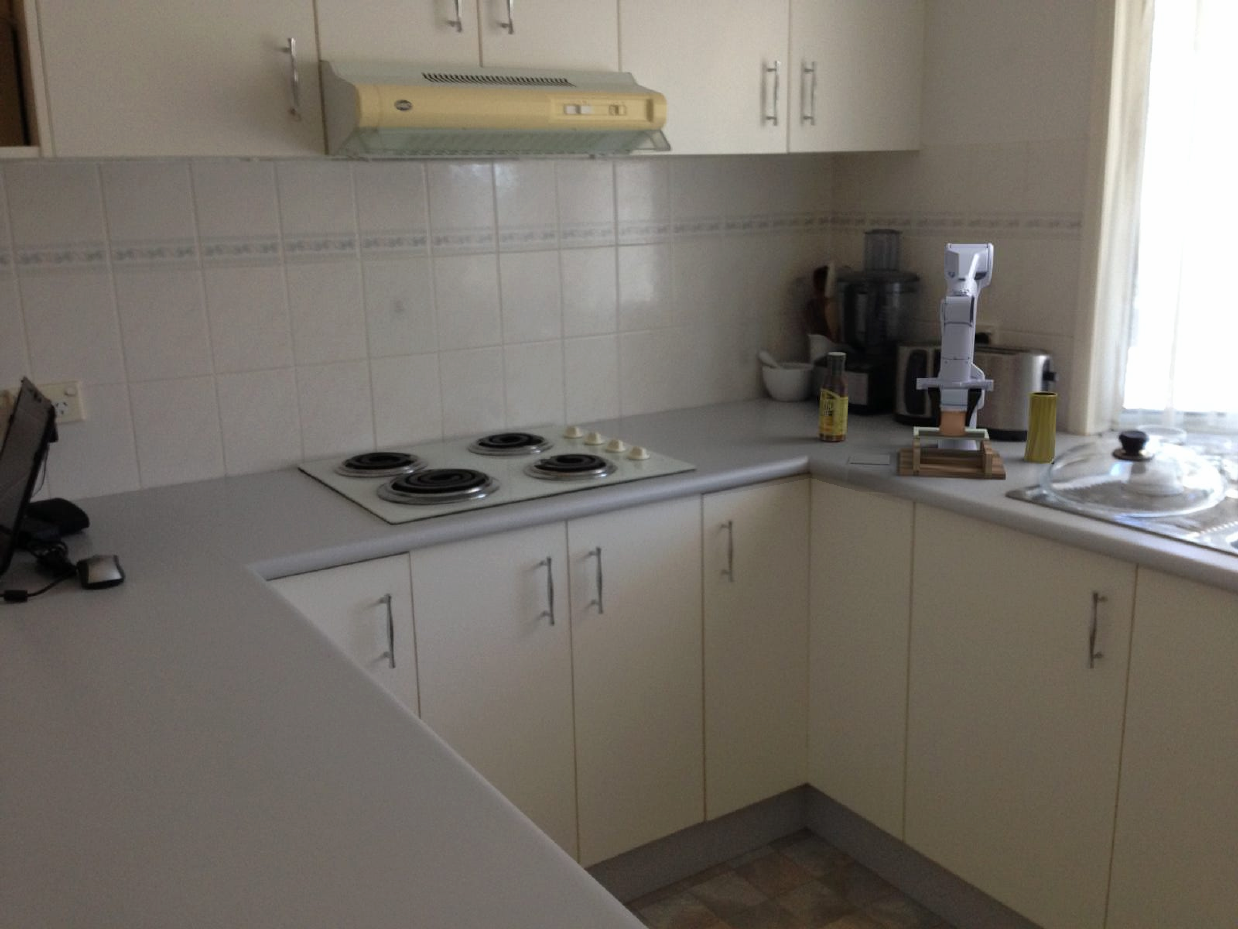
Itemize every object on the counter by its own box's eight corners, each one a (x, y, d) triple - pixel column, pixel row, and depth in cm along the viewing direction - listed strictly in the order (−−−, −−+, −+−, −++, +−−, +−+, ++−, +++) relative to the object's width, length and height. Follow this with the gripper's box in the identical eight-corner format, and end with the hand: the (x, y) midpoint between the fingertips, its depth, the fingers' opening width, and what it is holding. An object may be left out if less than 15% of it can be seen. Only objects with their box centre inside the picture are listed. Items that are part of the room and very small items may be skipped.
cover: (913, 429, 245) (914, 421, 245) (986, 431, 242) (986, 424, 242) (913, 438, 237) (914, 430, 237) (989, 440, 233) (989, 433, 233)
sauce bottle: (813, 438, 263) (814, 352, 258) (835, 435, 266) (838, 350, 261) (829, 444, 257) (832, 355, 253) (852, 441, 260) (855, 353, 255)
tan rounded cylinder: (939, 430, 233) (940, 408, 232) (964, 431, 231) (966, 409, 230) (939, 435, 228) (940, 413, 227) (965, 436, 227) (966, 414, 226)
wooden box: (900, 454, 247) (901, 429, 245) (997, 457, 242) (999, 432, 241) (899, 476, 228) (900, 450, 227) (1005, 481, 223) (1007, 454, 222)
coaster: (851, 456, 245) (851, 453, 245) (890, 458, 243) (890, 455, 243) (849, 465, 238) (850, 462, 238) (889, 466, 236) (889, 464, 236)
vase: (1027, 456, 242) (1031, 389, 239) (1057, 459, 239) (1062, 392, 236) (1020, 462, 237) (1025, 394, 234) (1051, 466, 234) (1056, 397, 231)
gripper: (918, 360, 224) (915, 428, 227) (996, 361, 221) (991, 430, 224) (917, 354, 231) (914, 421, 234) (993, 355, 227) (989, 423, 231)
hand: (952, 425), depth 229 cm, fingers closed on tan rounded cylinder, 5 cm apart
